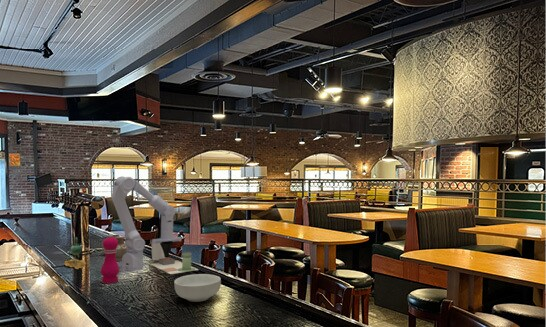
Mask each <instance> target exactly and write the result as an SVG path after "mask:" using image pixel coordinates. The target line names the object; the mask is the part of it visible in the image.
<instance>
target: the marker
mask: <svg viewBox="0 0 546 327" xmlns="http://www.w3.org/2000/svg"><path fill="white" fill-rule="evenodd" d="M181 255H182V256H181V258H182V259H181V260H182V261H181V262H182V270H191V267H192V252H191V251H184V252H182V254H181Z"/></svg>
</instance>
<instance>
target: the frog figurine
mask: <svg viewBox="0 0 546 327" xmlns="http://www.w3.org/2000/svg"><path fill="white" fill-rule="evenodd" d="M78 240H79V239H78V237H77V236H76V237H75V241H74V243H71V244H70V245H69V247H70V250H68V251H67V257H66V260H65V261H64V265H65V266H66V267H68V268H69V267H70V268H74V269H75V270H79V268H81V269H82V268H84V267H85V266H86V265H87V262H85V261H84V260H79V258H80V254H81V253H83V254H85V252H84V251H83V250H82V249H83V248H84V244H83V242H81V243H78ZM70 254H72V255H73V256H74V258H72V256H71V255H70ZM76 256H77V258H76Z"/></svg>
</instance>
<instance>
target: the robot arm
mask: <svg viewBox="0 0 546 327" xmlns="http://www.w3.org/2000/svg"><path fill="white" fill-rule="evenodd" d="M112 185H113V186H112V187H113V188H112V194H111V201H112V203H113V205H114V208H115V211H116V214H117V217H118V218H119V221H120V224H121V226H122V229H123V231H124V237H125V239H124V244H125V245H126V247H127V252H126V254H124V255H123V257H122V261H121V271H125V272H135V271H137V270H138V271H139V270H141V269H143V267H144V266H143V264H144V262H143V260H144V256H143V254H144V248H145V247H146V246H145V245H146V241H145V239H143V238H142V237H141V235H140V233H139V232H138V230H137V228H136V225H135V222H134V220H133V218H132V215H131V213H130V212H131V211H130V210H129V207H128V205H127V202H126V198H127V196H128V194H129V193H130V192H131V191H133V192H136V193H137V194H139V195H141V196H142V197H143V198H145V199H146V200H148V205H149V206H151V207H152V208H153V209H155V210H156V211H157V212H158V213H159V215H160V216H161V220H160V221H161V222H160V237H159V238H153V239H152V238H151V242H152V244H155V243H160V245H161V247H162V249H163V252H164V257H166V258H170V257H169V256H170V254H171V250H172V248H173V246H174V244H175V243H174V242H182V237H181V236H174V216H175V214H176V212H177V211H176V209H175V206H173V205H170V204H169V202H168V201H165V200H164V199H162V196H161V195H157V194H155V195H153V194H152V192H150V191H149V190H148V189H147V188H145V187H144V185H142V184H141V183H140V182H139V181H137V180H136V179H134V178H133V177H132V176H119V177H117V178H116V180H115V181H114V182H113V184H112Z"/></svg>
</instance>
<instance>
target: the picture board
mask: <svg viewBox="0 0 546 327" xmlns="http://www.w3.org/2000/svg"><path fill="white" fill-rule="evenodd" d="M169 258H170V260H165V261H164V260H163V259H159V260H158V262H154V263H150V265H151V266H153V267H155V268H157V269H159V270H161V271H163V272H166V273H167V274H170V275H175V274H181V273H187V272H189V273H190V272H193V271H194V272H195V271H199V269H198V268H196V267H193V266H191V270H182V261H180V260H177V259H176V260H175V259H174V258H172V257H169Z"/></svg>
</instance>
